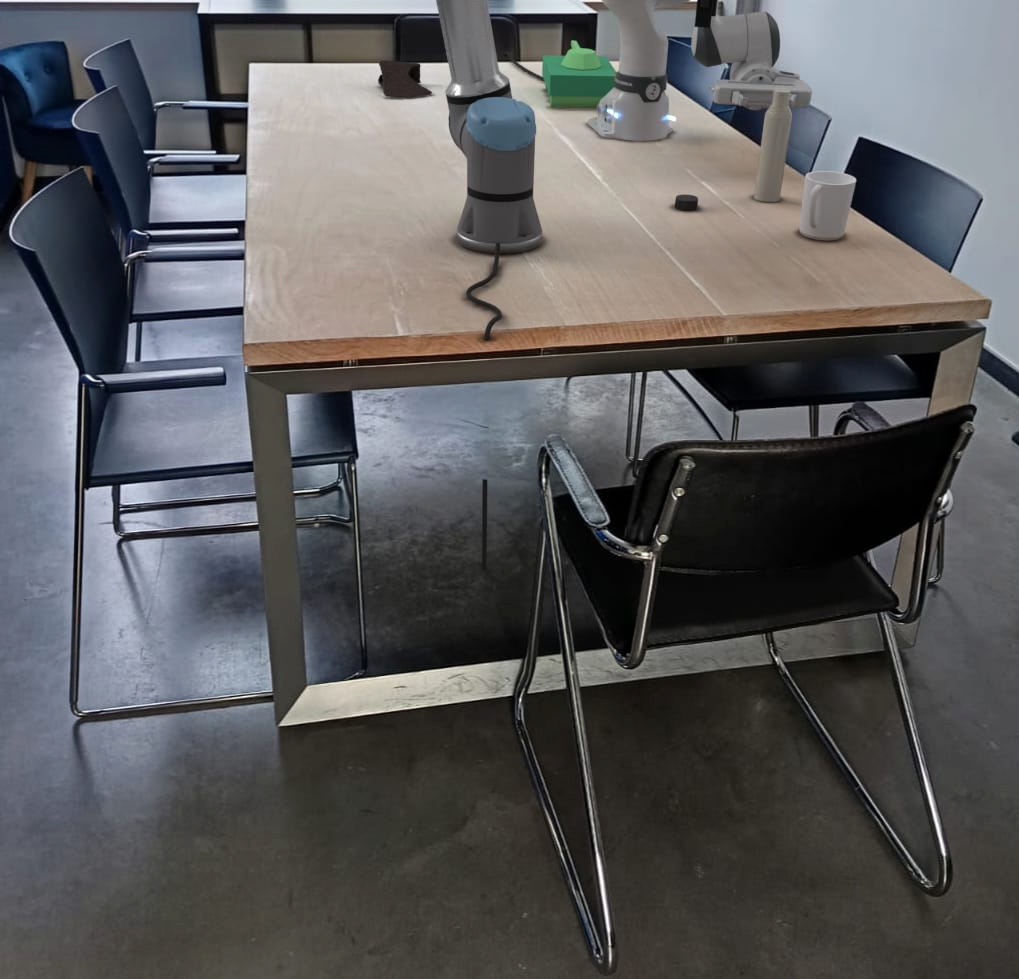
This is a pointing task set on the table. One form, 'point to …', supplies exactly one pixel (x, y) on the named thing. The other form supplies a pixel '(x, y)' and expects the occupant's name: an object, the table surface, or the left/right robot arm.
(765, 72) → the right robot arm
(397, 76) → the axe head
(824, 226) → the mug
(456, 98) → the left robot arm
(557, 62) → the toy tank
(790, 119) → the bottle
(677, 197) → the cap
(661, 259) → the table surface
